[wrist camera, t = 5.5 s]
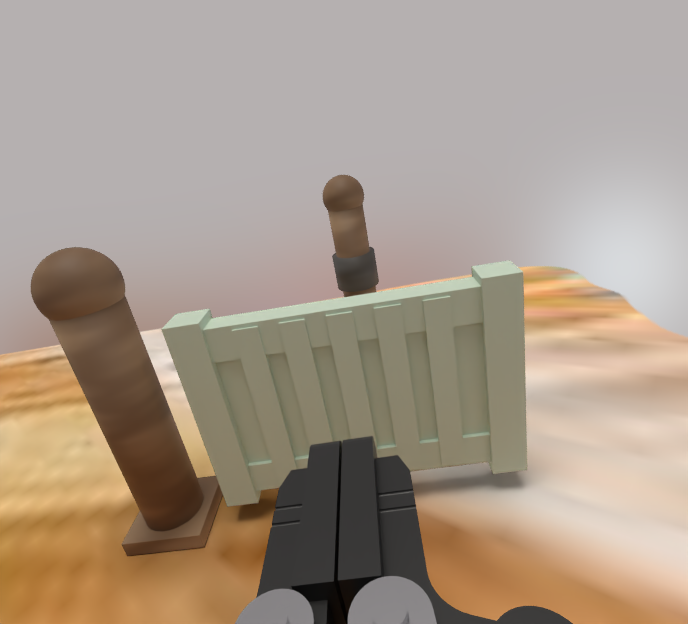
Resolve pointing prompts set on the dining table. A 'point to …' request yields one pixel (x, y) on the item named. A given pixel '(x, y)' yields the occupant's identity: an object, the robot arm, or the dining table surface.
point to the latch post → (350, 237)
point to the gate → (360, 379)
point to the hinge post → (126, 399)
